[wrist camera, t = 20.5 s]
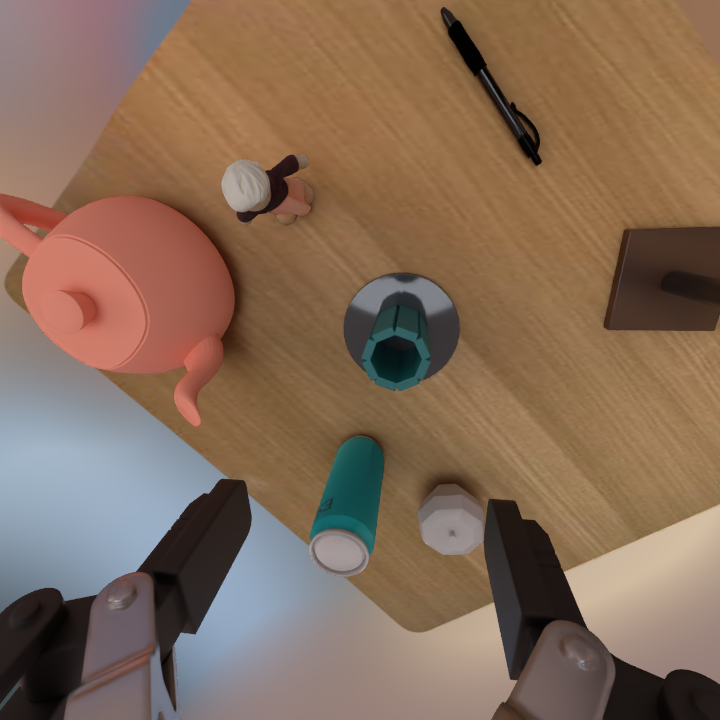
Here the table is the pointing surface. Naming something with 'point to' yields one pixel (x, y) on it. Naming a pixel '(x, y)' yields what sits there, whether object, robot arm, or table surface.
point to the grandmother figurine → (267, 189)
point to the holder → (666, 280)
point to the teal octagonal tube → (392, 364)
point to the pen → (492, 87)
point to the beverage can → (349, 509)
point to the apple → (451, 520)
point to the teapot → (126, 288)
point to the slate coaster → (398, 292)
